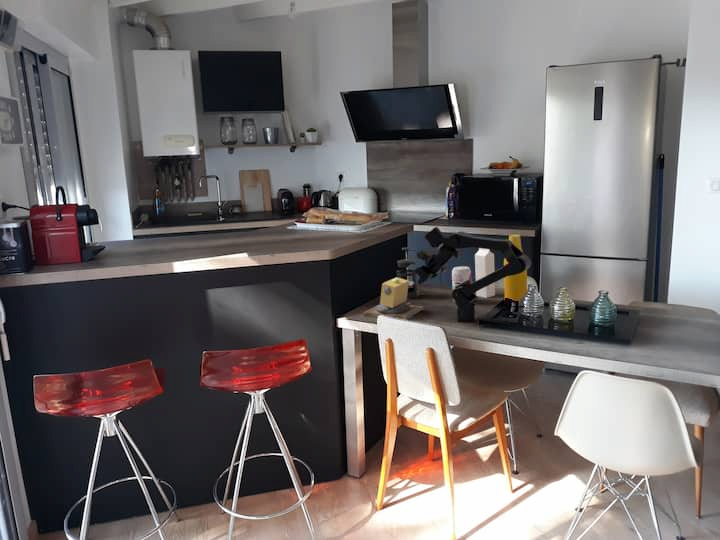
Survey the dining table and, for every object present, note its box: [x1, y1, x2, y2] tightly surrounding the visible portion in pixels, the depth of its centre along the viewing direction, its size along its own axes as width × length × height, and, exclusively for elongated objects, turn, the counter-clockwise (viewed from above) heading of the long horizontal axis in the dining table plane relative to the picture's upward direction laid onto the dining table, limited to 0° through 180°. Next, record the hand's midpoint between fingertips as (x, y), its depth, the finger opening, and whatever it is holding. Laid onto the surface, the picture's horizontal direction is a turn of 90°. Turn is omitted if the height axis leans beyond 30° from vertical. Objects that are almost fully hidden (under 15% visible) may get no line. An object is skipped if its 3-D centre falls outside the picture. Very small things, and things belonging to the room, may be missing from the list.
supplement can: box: [451, 265, 472, 302], centre depth 247 cm, size 8×8×15 cm
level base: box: [362, 301, 425, 320], centre depth 239 cm, size 20×16×4 cm
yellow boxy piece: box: [379, 276, 410, 308], centre depth 237 cm, size 6×13×10 cm, turn 148°
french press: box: [395, 247, 420, 299], centre depth 262 cm, size 12×9×23 cm
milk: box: [474, 248, 496, 299], centre depth 253 cm, size 6×6×22 cm
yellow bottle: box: [503, 234, 528, 301], centre depth 235 cm, size 9×9×29 cm
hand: (418, 283), depth 230 cm, fingers closed
